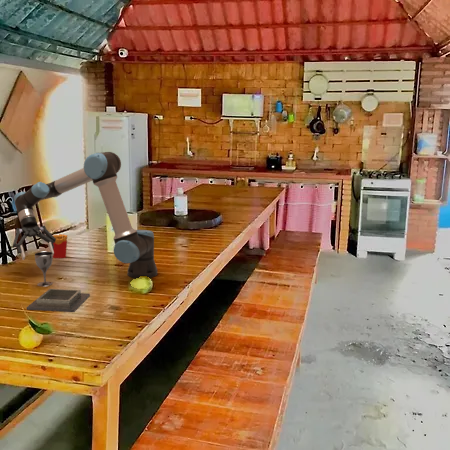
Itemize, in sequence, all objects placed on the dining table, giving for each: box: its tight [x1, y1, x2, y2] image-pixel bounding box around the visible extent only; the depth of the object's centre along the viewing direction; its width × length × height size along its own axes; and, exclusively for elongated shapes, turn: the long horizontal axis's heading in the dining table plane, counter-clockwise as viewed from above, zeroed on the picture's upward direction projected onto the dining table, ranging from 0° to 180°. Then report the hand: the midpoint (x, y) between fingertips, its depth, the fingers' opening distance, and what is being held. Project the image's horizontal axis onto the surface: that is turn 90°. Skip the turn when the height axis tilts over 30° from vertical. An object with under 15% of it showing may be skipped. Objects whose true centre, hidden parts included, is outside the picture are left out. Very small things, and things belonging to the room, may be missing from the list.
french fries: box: [52, 233, 68, 259], centre depth 290 cm, size 9×4×13 cm, turn 99°
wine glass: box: [34, 250, 54, 287], centre depth 244 cm, size 8×8×15 cm
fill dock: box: [26, 288, 91, 313], centre depth 221 cm, size 20×20×4 cm
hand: (38, 256), depth 247 cm, fingers open, 13 cm apart
